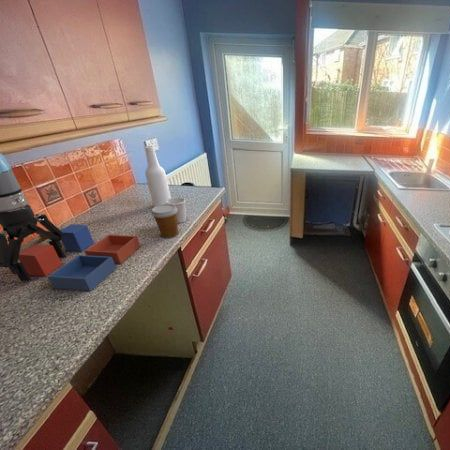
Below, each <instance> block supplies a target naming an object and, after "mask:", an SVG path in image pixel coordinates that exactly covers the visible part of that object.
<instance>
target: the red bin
mask: <svg viewBox="0 0 450 450" xmlns="http://www.w3.org/2000/svg"><path fill="white" fill-rule="evenodd" d="M140 247H141V244H140V241H139V238H138V235H122V234H107V235H105V236H104V237H103V238H101V239H99V241H97V242H95V243H93V244H92V245H91V246H89V247H88V248H86V249H85V250H84V253H85V255H89V256H106V257H112V258H113V261H114V264H122V263H123V262H124V261H126V260H127V259H128V258H129V257H130V256H131V255H133V253H135V252H136V251H137V250H138V249H139V248H140Z"/></svg>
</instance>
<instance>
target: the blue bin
mask: <svg viewBox="0 0 450 450" xmlns="http://www.w3.org/2000/svg"><path fill="white" fill-rule="evenodd" d="M116 269H117V266H116V263H114V261H113V258H112V257H106V256H89V255H86V254H78V255H77V256H75V257H74V258H72V259H71V260H69V261H68V262H67V263H65V264H64V265H62V266H60V267H59V268H57V269H56V270H54V271H53V272H51V273H50V274H48V275H47V279H48V280H49V283H50V284H51V286H52V287H53V289H55V290H68V291H69V290H73V291H89V292H91V291H92V290H93V289H94V288H95V287H96V286H98V285H99V284H101V282H102V281H103V280H104V279H105V278H106V277H108V276H109V275H110V274H111V273H112V272H113V271H115V270H116Z"/></svg>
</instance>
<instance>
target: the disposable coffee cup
mask: <svg viewBox="0 0 450 450" xmlns="http://www.w3.org/2000/svg"><path fill="white" fill-rule="evenodd" d="M177 210H178V209H177V208H176V206H175V205H173V204H162V205H158V206H155V207H154V206H153V207H152V208H151V212H150V214H151V215H152V217H153V219H154V221H155V223H156V226H157V228H158V230H159V232H160V234H161V237H162V238H173V237H176V236H177V235H178V234H179V226H178V224H179V223H177Z"/></svg>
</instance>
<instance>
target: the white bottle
mask: <svg viewBox="0 0 450 450" xmlns="http://www.w3.org/2000/svg"><path fill="white" fill-rule="evenodd" d="M144 151H145V155H146V161H147V167H146V169H145V170H144V172H145V173H144V175H145V179H146V182H147V187H148V190H149V194H150V198H151V201H152V206H153V208H154V207H155V206H158V205H162V204H166V203H165V201H166V200H168V199H170V198H172V196H171V191H170V188H169V187H170V186H169V183H168V178H167V173H166V171H165V169H164V168H163V167H162V166H161V165H160V163H159V160H158V156H157V154H156V150H155V146H152V145H146V146H144Z"/></svg>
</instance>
